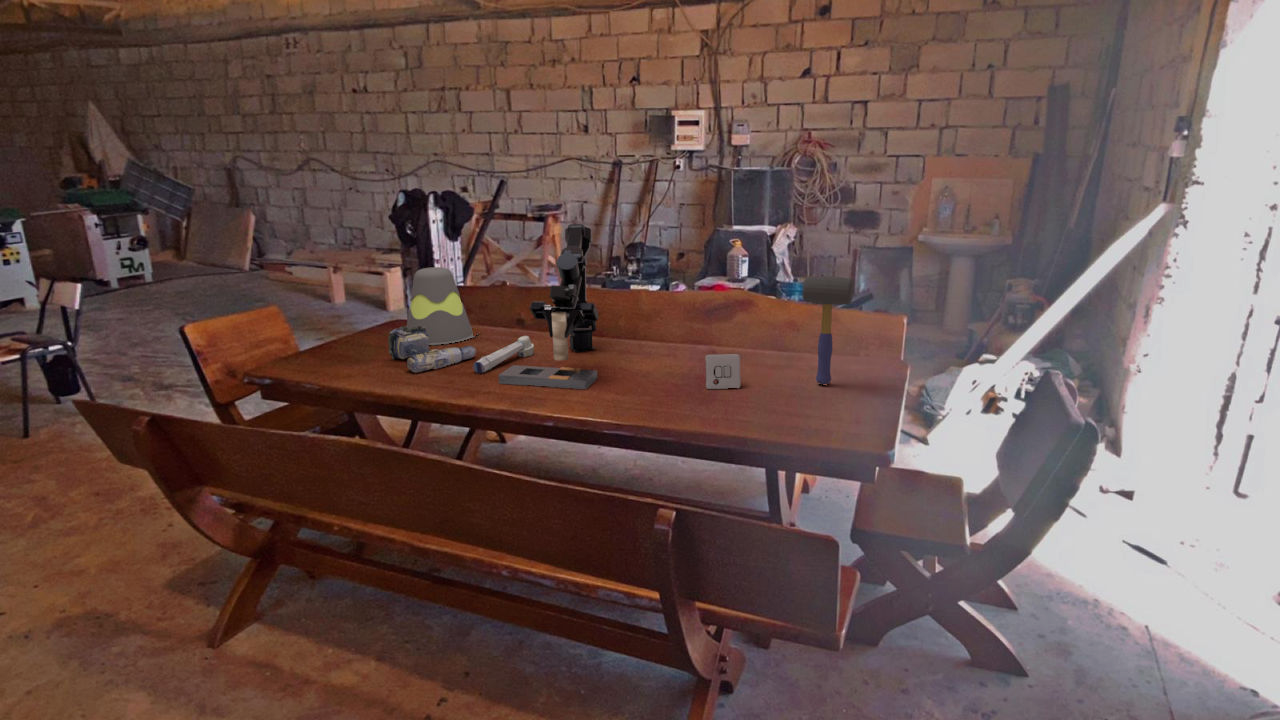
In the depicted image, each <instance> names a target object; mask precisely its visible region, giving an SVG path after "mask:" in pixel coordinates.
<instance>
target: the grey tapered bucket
mask: <svg viewBox="0 0 1280 720" xmlns="http://www.w3.org/2000/svg"><path fill="white" fill-rule="evenodd" d="M457 286H458V285H457V284H456V281H455V278H454V276H453V273H452V271H451V270H450V269H449V268H447V267H439V266H438V267H437V266H436V267H435V266H433V267H425V268H424V267H423V268H420V269H419V270H417V271H416V272H415V273H414V276H413V282H412V289H411V295H410V306H409V308H408V315H407V322H406V327H407V328H409V329H412V328H414V326H416V327H417V326H425V327H426V329H427V333H428V335H429V345H431V346H442V345H441V344H444V345H450V344H449V343H452V344H456V343H455V342H458V343H461V342H460V341H462V342H465V341H464V340H466V341H468V340H467V339H469V340H471V339H470V338H472V339H474V338H476V337H475V336H473V331H472V328H473V327H472V325H471V322H470V320H469V317H468V314H467V311H466V309H465V306H464V303H463V302H462V301H461V300H462V299H461V294H460V292H459V289H458V287H457ZM477 335H478V334H477ZM478 336H479V335H478ZM473 337H474V338H473Z"/></svg>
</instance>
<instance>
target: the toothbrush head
mask: <svg viewBox="0 0 1280 720" xmlns="http://www.w3.org/2000/svg"><path fill="white" fill-rule="evenodd" d="M534 349H535V344H534V343H532V341H531V339H530V337H529V335H523V336H520V337H519V338H518V339H517V341H515V342H513V343H511V344H509V345H507V346H504V347H503V348H500V349H498V350H496V351H494V352H491V353H490V354H489V355H488V354H487V355H485V356H481V358H479V359H478V360H477V361H474V363H473V364H472V367H473V368H472V369H473V370H474V372H475V373H477V374H481V373H482V374H484V373H485V372H488V371H489V370H490V371H491V370H492V368H494V367H496V366H497V365H499V364H501V363H503V362H504V361H505V360H507V359H509V358H510V357H512V356H514V355H516V354H517V356H518V357H520V358H527V357H531V356H533V355H534V352H535V351H534Z"/></svg>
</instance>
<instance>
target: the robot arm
mask: <svg viewBox="0 0 1280 720" xmlns="http://www.w3.org/2000/svg"><path fill="white" fill-rule="evenodd" d="M564 237H565V238H564V241H565V243H566V247H564V248H562V249H561V252H560V255H559V256H558V258H557V259H556V269H557V270H558V275H559V278H560V283H559V285H550V291H549V298H550V299H552V302H551V303H553V305H551V304H547V303H546V301H541V300H539V301H537V300H536V301H535V300H533V301H532V302H531V303H530V306H529V310H530V312H531V314H532V315H533V318H534V319H536V320H545V321H546V322H547V324H548V333H549V337H550V338H553V332H552V313H553V312H566V322H567V328H566V331H565V338H567V339H568V337H569V346H568V349H570V350H572V351H574V352H575V353H582V352H587V351H589V352H590V351H594V350H596V347H594V345H593V333H594V332H596V331H597V324H596V323H597V321H598V318H599V311H598V309H597V306H596V304H595V303H594V302H587V264H588V260H587V256H588V254H589V252H590V251H591V244H592V243H593V231H592V229H591V228H590V227H586V226H585V224H582V223H577V224H576V223H573V224H572V223H570V224H568V225H567V228H565V230H564Z"/></svg>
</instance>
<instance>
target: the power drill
mask: <svg viewBox="0 0 1280 720" xmlns="http://www.w3.org/2000/svg"><path fill="white" fill-rule="evenodd" d="M387 339H388V353H389V354H390V356H391V358H392V360H393V361H394V360H397V359H401V360H406V359H407V360H406V364H407V366H406V367H407V369H408V370H409V371H411V373H413V372H414V374H418V373H422V372H427V371H429V370H430V369H435V370H438V368H439V369H442V368H443V367H448V366H452V365H455V364H458V363H460V362H461V361H465V360H466V361H467V360H469V359H472V358H473V357H475V356H476V353H477V350H476V348H475V347H474V346H472V345H467V346H466V345H465V346H462V347H448V348H447V347H446V348H443V349H438V348H436V349H435V348H434V349H430V346H429V335H428V333H427V329H426V327H425V326H417V327H416V326H414V328H412V329H409V328H407V325H403V326H400V327H398V328H394V329H392V330H390V331H389V335H388V337H387ZM454 363H455V364H454ZM451 364H452V365H451ZM447 365H448V366H447Z"/></svg>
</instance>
